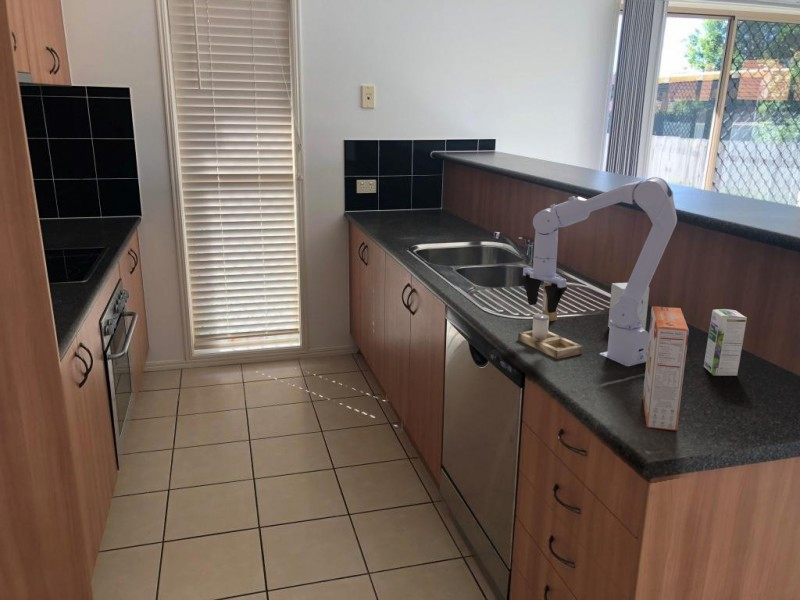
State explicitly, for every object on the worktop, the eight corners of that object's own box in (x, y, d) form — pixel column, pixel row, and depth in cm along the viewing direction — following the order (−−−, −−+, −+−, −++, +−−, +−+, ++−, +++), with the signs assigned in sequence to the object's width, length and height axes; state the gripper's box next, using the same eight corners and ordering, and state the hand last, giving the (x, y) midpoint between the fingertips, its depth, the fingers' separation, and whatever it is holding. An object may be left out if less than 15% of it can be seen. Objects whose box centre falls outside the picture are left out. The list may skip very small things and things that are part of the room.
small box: (633, 325, 186) (638, 281, 183) (645, 333, 180) (650, 287, 177) (607, 327, 185) (611, 282, 181) (617, 334, 179) (622, 288, 175)
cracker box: (640, 398, 140) (650, 304, 134) (670, 402, 138) (682, 307, 132) (643, 428, 127) (655, 325, 121) (677, 432, 125) (691, 328, 119)
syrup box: (702, 366, 157) (710, 308, 153) (727, 366, 157) (736, 309, 153) (712, 376, 152) (721, 316, 147) (738, 376, 151) (748, 316, 147)
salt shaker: (550, 343, 171) (552, 317, 169) (538, 345, 169) (540, 319, 167) (540, 338, 174) (542, 313, 172) (528, 340, 173) (529, 315, 171)
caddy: (582, 355, 164) (582, 346, 163) (557, 361, 160) (558, 351, 160) (541, 337, 177) (542, 328, 176) (517, 341, 174) (518, 332, 173)
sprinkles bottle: (554, 323, 188) (557, 278, 184) (539, 321, 190) (542, 276, 187) (559, 319, 192) (562, 274, 188) (544, 316, 194) (546, 272, 190)
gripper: (514, 252, 170) (512, 303, 173) (552, 264, 157) (548, 318, 161) (536, 250, 173) (533, 299, 177) (574, 261, 161) (570, 313, 164)
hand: (542, 308), depth 169 cm, fingers open, 7 cm apart
